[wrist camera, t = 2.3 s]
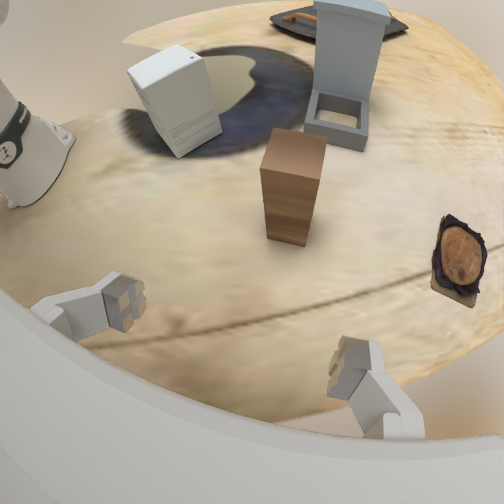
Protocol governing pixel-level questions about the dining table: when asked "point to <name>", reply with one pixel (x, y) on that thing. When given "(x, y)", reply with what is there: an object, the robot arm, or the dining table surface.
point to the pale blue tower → (345, 66)
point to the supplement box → (177, 98)
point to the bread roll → (458, 261)
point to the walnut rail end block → (291, 183)
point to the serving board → (306, 22)
